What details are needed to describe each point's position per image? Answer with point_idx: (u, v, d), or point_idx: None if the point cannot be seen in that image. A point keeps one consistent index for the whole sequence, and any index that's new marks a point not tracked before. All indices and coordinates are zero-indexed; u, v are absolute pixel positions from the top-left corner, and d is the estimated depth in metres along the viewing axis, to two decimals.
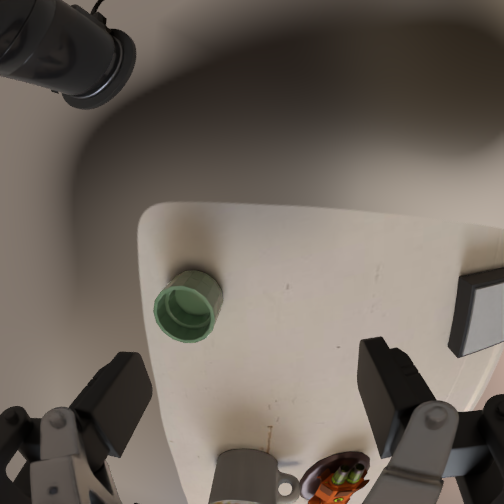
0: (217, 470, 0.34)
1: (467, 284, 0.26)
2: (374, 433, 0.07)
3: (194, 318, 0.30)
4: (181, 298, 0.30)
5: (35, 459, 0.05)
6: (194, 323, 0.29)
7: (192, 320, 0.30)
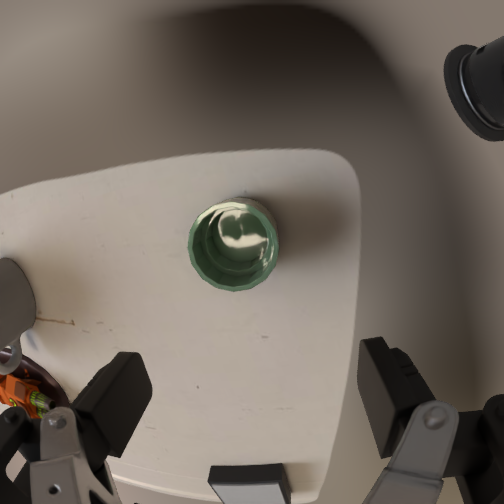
0: None
1: (279, 474, 0.29)
2: (374, 433, 0.07)
3: (211, 237, 0.23)
4: (235, 215, 0.23)
5: (35, 459, 0.05)
6: (208, 244, 0.22)
7: (209, 237, 0.22)
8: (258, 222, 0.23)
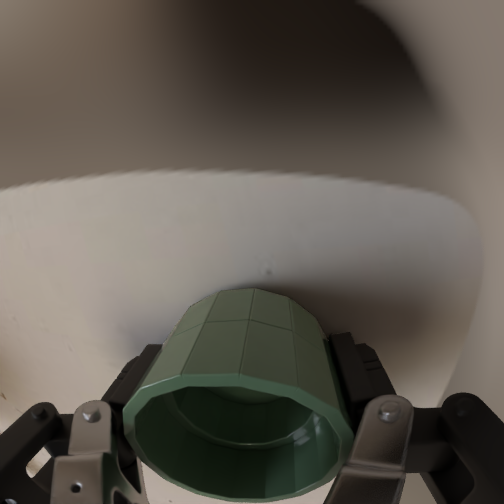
0: None
1: None
2: None
3: None
4: None
5: None
6: (178, 392, 0.09)
7: None
8: None
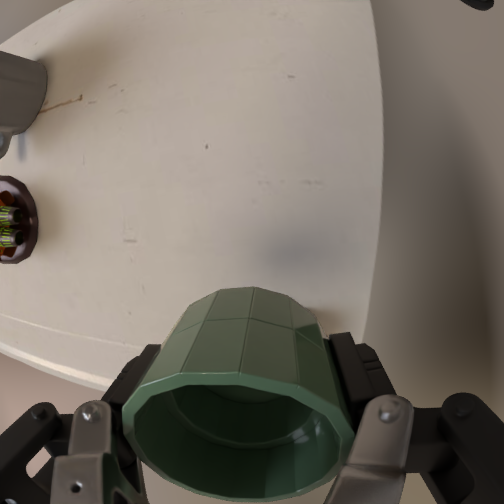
0: (21, 57, 0.19)
1: None
2: None
3: None
4: None
5: None
6: (177, 391, 0.09)
7: None
8: None
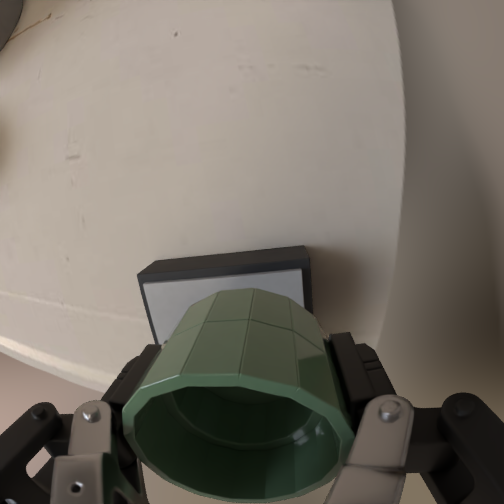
0: None
1: (302, 253, 0.16)
2: None
3: None
4: None
5: None
6: (177, 392, 0.09)
7: None
8: None
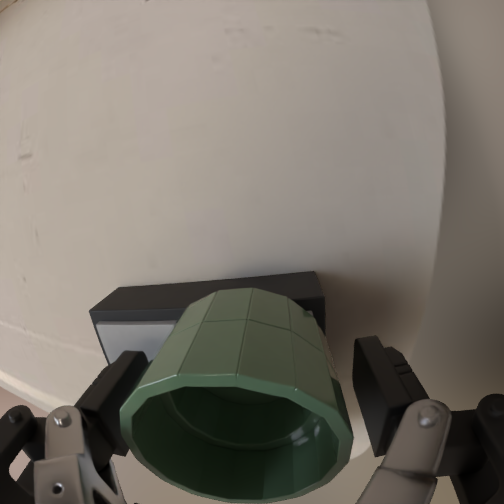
0: None
1: (313, 287, 0.11)
2: (368, 431, 0.07)
3: None
4: None
5: (39, 459, 0.05)
6: (176, 392, 0.09)
7: None
8: None
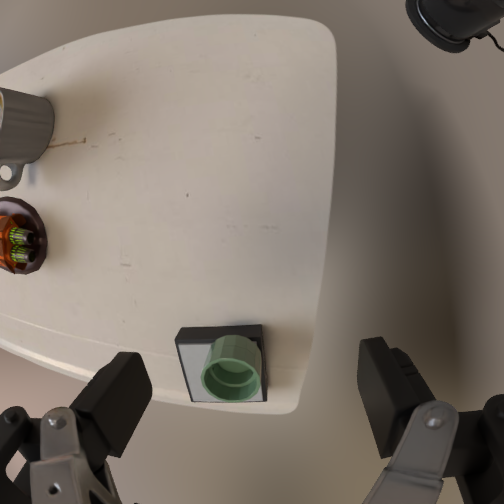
0: (30, 95, 0.25)
1: (258, 332, 0.32)
2: (374, 433, 0.07)
3: None
4: None
5: (35, 459, 0.05)
6: (212, 366, 0.29)
7: None
8: None
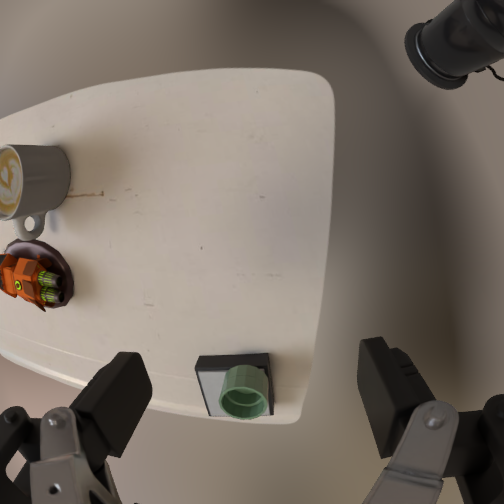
0: (44, 147, 0.30)
1: (265, 361, 0.37)
2: (374, 433, 0.07)
3: None
4: None
5: (35, 459, 0.05)
6: (227, 390, 0.34)
7: None
8: None
